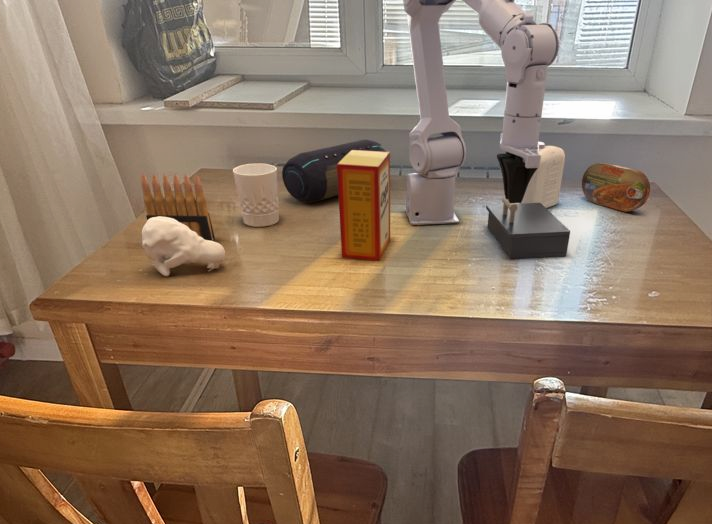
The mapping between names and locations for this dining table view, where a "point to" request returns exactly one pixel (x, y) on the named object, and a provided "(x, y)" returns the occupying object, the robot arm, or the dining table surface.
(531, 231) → the cover
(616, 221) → the dining table surface
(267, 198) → the white cup
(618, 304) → the dining table surface
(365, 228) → the baking soda box
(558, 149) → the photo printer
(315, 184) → the portable speaker
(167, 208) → the ammunition clip
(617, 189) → the tin
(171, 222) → the white figurine
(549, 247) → the flip case
